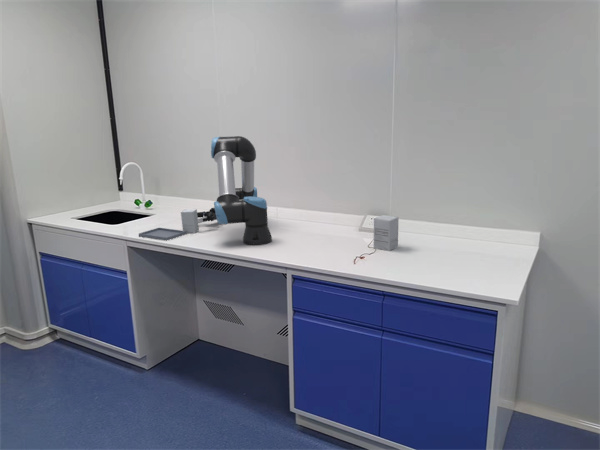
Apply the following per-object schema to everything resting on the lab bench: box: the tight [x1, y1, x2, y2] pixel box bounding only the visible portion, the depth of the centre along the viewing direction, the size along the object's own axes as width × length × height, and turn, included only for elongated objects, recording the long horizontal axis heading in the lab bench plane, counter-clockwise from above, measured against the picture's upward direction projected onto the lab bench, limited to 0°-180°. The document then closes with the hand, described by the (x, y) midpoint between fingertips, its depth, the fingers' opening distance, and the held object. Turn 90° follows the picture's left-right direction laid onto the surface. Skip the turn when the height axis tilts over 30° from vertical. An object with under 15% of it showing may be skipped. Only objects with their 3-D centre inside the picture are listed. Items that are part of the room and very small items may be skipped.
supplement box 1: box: [180, 208, 200, 234], centre depth 246 cm, size 7×7×13 cm
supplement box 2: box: [373, 214, 399, 252], centre depth 204 cm, size 9×9×15 cm
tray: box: [138, 227, 188, 242], centre depth 241 cm, size 22×15×2 cm
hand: (190, 219), depth 247 cm, fingers open, 13 cm apart
